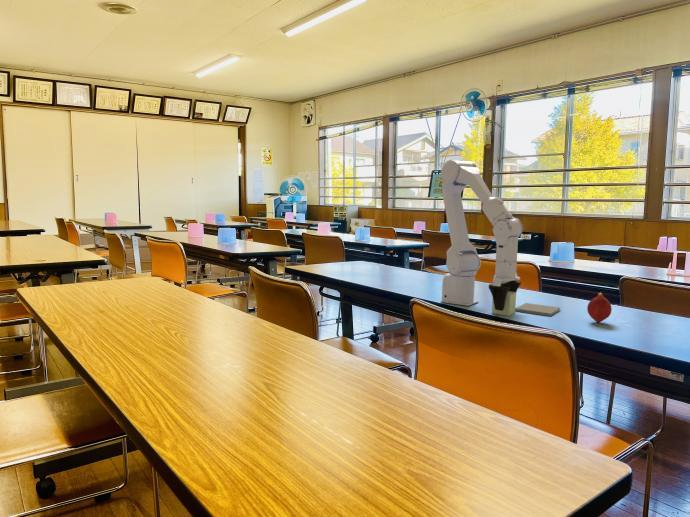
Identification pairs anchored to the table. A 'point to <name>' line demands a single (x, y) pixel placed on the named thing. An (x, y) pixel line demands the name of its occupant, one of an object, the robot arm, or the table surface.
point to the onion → (599, 308)
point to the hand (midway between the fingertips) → (503, 307)
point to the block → (507, 305)
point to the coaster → (537, 309)
